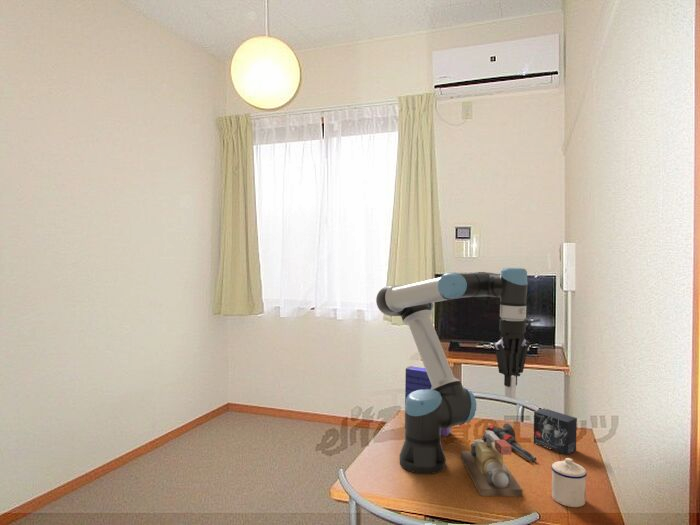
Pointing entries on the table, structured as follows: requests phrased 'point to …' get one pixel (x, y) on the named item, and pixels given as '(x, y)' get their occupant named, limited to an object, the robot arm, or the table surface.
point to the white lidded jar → (568, 483)
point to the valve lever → (499, 443)
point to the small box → (555, 431)
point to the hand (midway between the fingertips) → (510, 396)
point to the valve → (509, 439)
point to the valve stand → (489, 470)
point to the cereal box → (419, 386)
